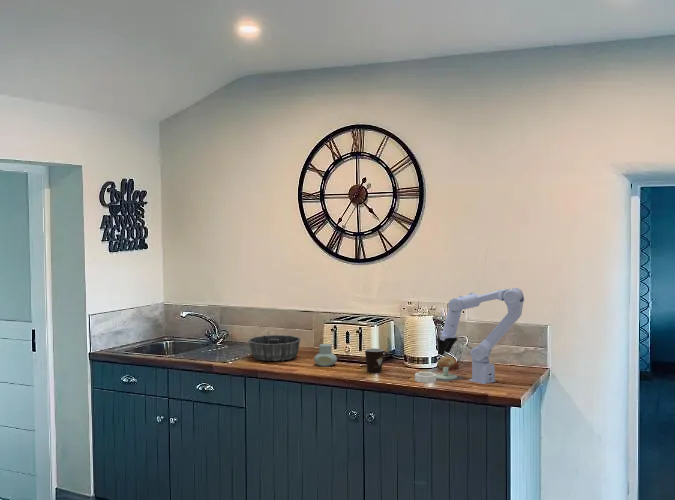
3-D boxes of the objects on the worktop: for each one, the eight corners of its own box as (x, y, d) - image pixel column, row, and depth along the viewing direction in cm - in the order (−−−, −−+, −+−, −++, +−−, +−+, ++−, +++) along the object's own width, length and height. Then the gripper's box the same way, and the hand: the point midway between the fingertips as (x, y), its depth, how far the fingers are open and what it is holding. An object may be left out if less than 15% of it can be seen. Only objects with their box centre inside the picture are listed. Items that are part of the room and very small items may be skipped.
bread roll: (436, 375, 338) (430, 360, 336) (453, 364, 341) (447, 350, 340) (446, 379, 329) (440, 364, 327) (464, 368, 332) (458, 353, 330)
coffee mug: (368, 374, 323) (368, 352, 323) (362, 370, 332) (362, 348, 331) (392, 372, 326) (392, 350, 326) (386, 369, 335) (386, 347, 334)
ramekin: (440, 382, 308) (440, 374, 307) (425, 385, 302) (425, 377, 302) (426, 378, 315) (426, 371, 315) (410, 381, 310) (410, 373, 309)
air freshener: (312, 366, 340) (312, 345, 340) (315, 363, 348) (315, 343, 348) (335, 367, 339) (335, 346, 338) (337, 363, 347) (337, 343, 347)
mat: (465, 379, 313) (465, 378, 313) (445, 382, 306) (445, 381, 306) (445, 374, 322) (445, 373, 322) (426, 377, 315) (426, 376, 315)
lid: (462, 377, 313) (462, 367, 313) (445, 380, 307) (445, 370, 307) (445, 373, 321) (445, 364, 321) (429, 376, 315) (429, 366, 315)
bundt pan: (276, 366, 342) (276, 345, 342) (237, 359, 358) (237, 339, 358) (311, 357, 363) (311, 338, 363) (273, 352, 379) (272, 333, 379)
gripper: (448, 319, 322) (441, 347, 324) (437, 323, 309) (429, 352, 311) (463, 324, 318) (455, 353, 321) (452, 328, 306) (444, 358, 308)
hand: (443, 353), depth 316 cm, fingers open, 7 cm apart
